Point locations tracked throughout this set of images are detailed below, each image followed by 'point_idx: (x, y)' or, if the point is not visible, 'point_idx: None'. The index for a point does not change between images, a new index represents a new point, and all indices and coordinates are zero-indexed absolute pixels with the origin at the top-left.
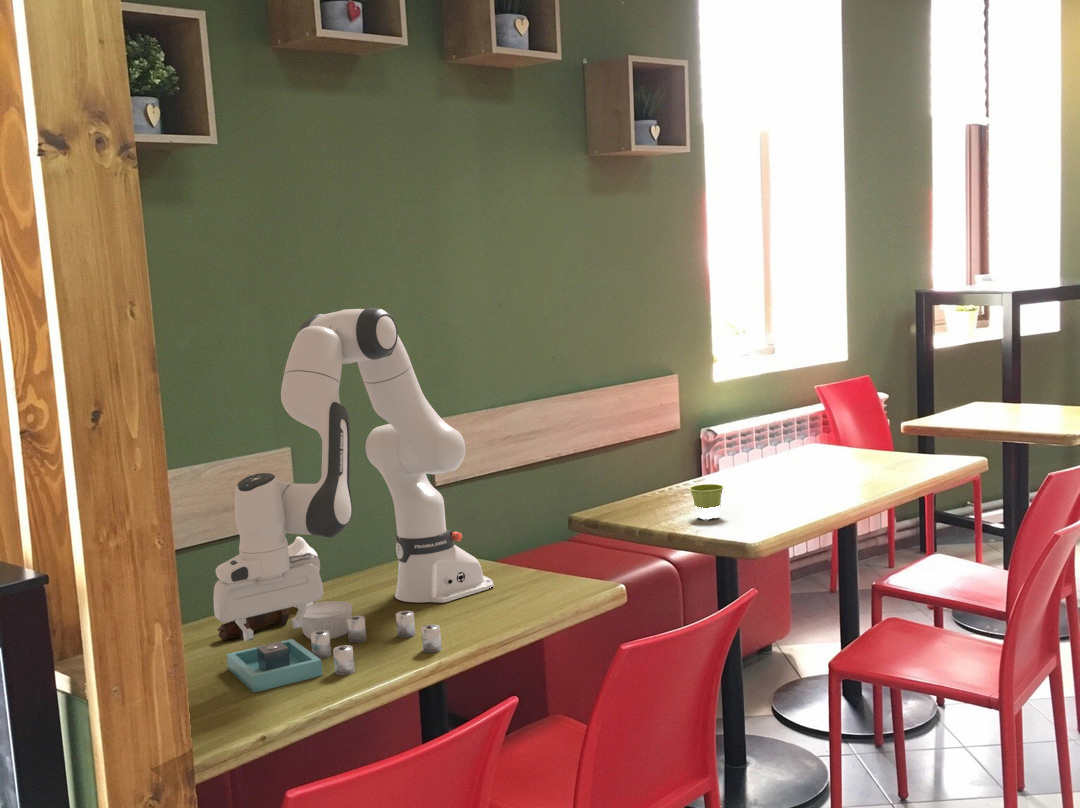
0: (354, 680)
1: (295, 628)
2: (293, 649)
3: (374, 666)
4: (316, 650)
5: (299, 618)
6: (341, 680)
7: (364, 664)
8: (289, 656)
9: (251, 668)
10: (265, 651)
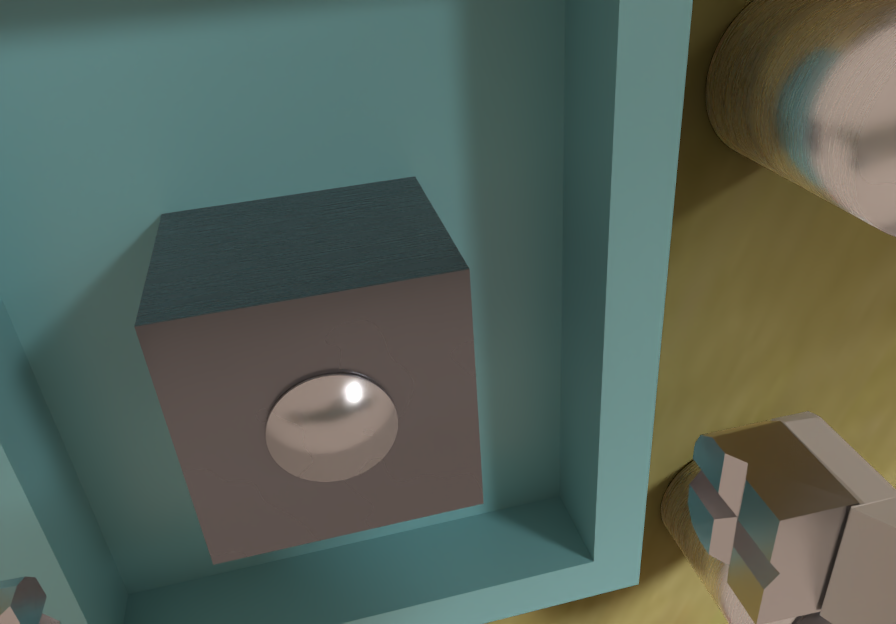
0: (689, 615)
1: (694, 520)
2: (593, 75)
3: None
4: (761, 160)
5: (839, 621)
6: (639, 596)
7: (862, 423)
8: (523, 35)
9: (78, 193)
10: (232, 515)
